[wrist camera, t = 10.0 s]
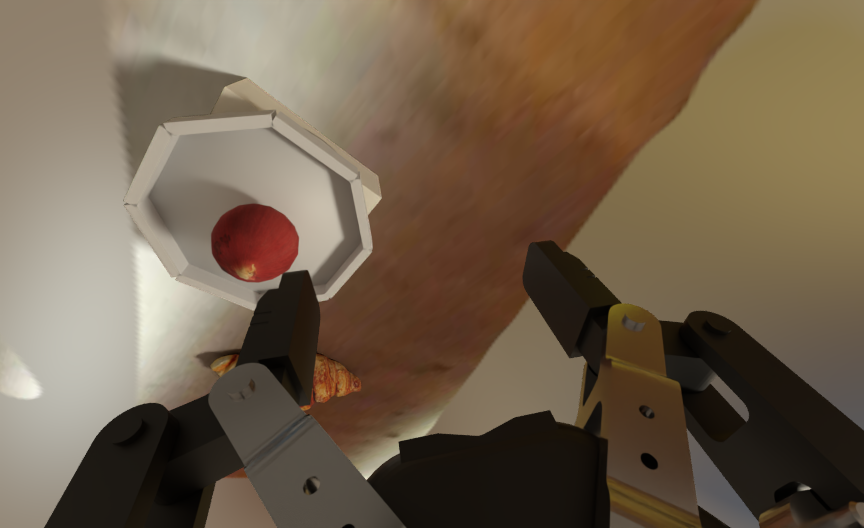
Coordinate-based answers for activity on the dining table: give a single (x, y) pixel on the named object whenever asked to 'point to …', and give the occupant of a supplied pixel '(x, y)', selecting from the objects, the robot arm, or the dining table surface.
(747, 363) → the robot arm
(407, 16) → the dining table surface
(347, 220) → the scale
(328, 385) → the croissant
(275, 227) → the onion
